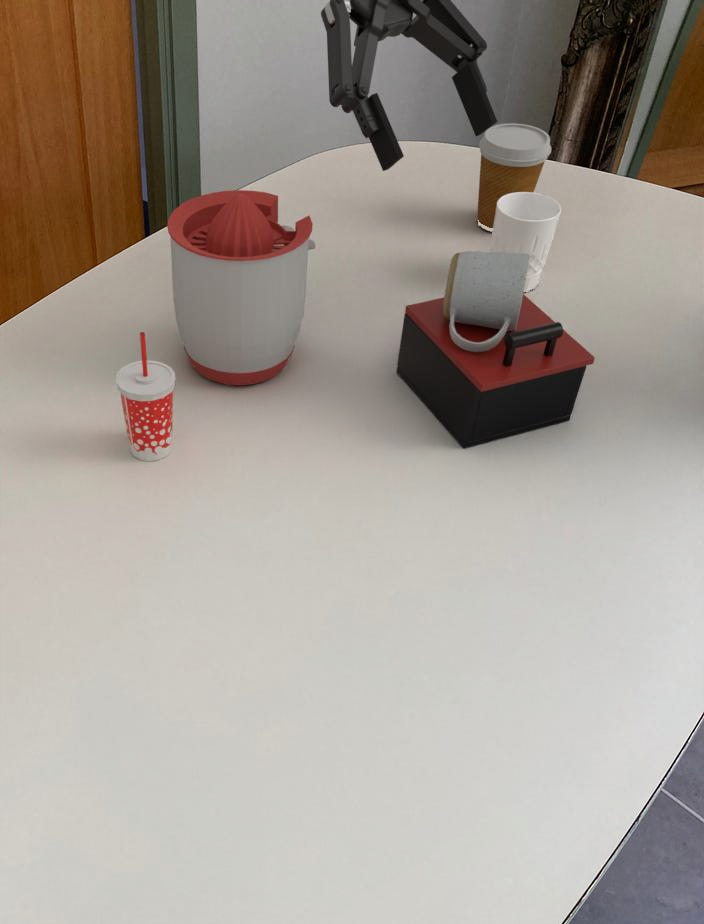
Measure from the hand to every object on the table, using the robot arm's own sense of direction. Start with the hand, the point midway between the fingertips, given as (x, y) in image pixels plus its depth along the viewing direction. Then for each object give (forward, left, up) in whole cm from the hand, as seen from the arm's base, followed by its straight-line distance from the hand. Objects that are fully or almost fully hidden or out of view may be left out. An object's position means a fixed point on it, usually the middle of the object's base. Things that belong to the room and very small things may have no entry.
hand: (441, 146), depth 102 cm
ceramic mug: (-9, +7, -15) cm, 19 cm away
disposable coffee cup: (-3, -36, -24) cm, 43 cm away
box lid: (-10, +7, -16) cm, 20 cm away
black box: (-10, +6, -24) cm, 27 cm away
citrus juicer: (+18, +9, -24) cm, 31 cm away
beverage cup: (+21, +29, -24) cm, 43 cm away
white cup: (-8, -21, -24) cm, 33 cm away
